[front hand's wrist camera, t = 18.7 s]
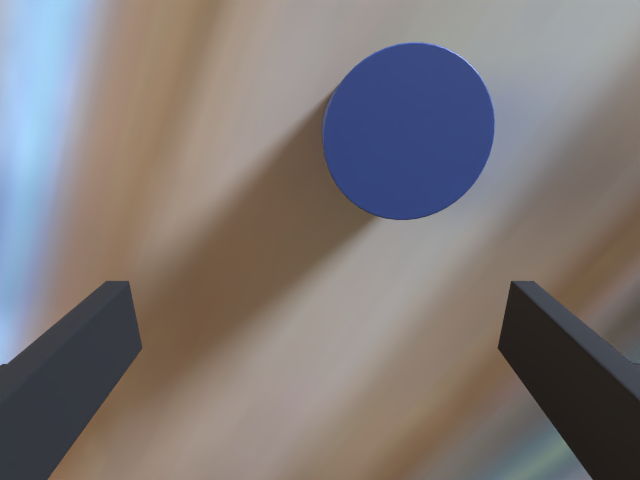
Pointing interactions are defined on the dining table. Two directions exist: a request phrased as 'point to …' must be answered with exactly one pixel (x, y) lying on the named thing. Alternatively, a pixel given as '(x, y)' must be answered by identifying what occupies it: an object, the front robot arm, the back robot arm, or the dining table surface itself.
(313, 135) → the dining table surface
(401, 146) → the blue cylinder
